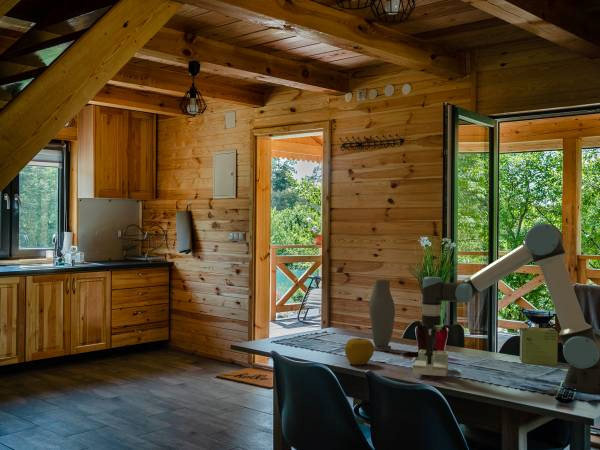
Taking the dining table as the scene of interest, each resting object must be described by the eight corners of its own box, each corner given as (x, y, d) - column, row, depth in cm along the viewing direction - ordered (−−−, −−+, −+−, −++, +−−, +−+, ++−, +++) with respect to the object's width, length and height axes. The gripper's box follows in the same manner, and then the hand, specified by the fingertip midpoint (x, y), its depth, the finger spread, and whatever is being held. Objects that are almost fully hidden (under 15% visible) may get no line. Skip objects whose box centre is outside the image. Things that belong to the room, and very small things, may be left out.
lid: (447, 371, 262) (447, 360, 262) (446, 376, 252) (446, 365, 252) (415, 368, 266) (415, 358, 266) (412, 373, 256) (412, 362, 256)
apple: (375, 362, 286) (376, 337, 286) (371, 368, 273) (371, 341, 274) (347, 360, 289) (348, 335, 289) (341, 365, 277) (342, 339, 277)
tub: (448, 368, 275) (448, 351, 276) (447, 372, 268) (447, 354, 268) (419, 366, 279) (420, 349, 279) (418, 370, 271) (418, 352, 271)
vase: (394, 351, 315) (395, 280, 316) (367, 350, 317) (369, 280, 318) (394, 348, 328) (395, 279, 329) (369, 347, 330) (370, 279, 331)
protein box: (557, 365, 290) (558, 331, 290) (522, 363, 293) (522, 329, 293) (553, 361, 300) (553, 328, 300) (519, 359, 303) (519, 326, 303)
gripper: (439, 318, 247) (438, 375, 247) (442, 312, 269) (441, 365, 269) (419, 317, 249) (418, 374, 249) (424, 311, 272) (423, 363, 271)
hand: (430, 369), depth 259 cm, fingers closed on lid, 10 cm apart
